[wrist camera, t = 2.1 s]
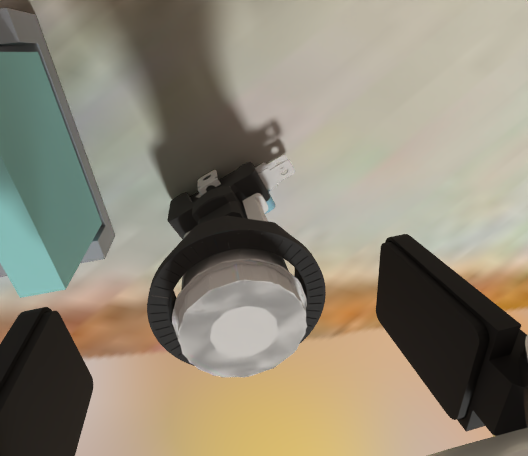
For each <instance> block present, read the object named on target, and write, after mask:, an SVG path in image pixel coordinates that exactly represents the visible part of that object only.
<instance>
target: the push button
mask: <svg viewBox="0 0 528 456" xmlns="http://www.w3.org/2000/svg"><path fill="white" fill-rule="evenodd" d="M280 161H281V162H282V163H280V164H279V165H277V166H276V164H277V162H280ZM287 169H288V171H287V173H286V174H281V173H282V172H284V171H285V170H287ZM294 173H295V169H294V167H293V165H292V163H291V161H290V160H288V159H287V157H286V155H284V154H283V155H281V156H280V157H278V158H276V159H274V160H273V161H271V162H269V163H268V164H266V163H265V162H264V163H262V164H260V165H259V166H257V167H254V165H253V164H252V163H251V162H248V163H246V164H244V165H242V166H241V167H239V168H238V169H237V170H236V171H234V172H232V173H230V174H229V175H227V176H225V177H224V178H222V179H220V180H218V176H217V171H216V170H213V171H211V172H209V173H208V174H206V175H204V176H203V177H201V178H200V179H199V180H198V191H199V192H198V193H196V194H195V195H193V196H191V197H190V196H189V195H188V194H187V193H183V194H181V195H179V196H177V197H176V198H174V199H173V200H172V201H171V203H170V209H169V214H168V222H169V223H170V224H171V226H172V227H173V228H174V229H175V231H176V232H177V233H178V234H179V236H180V237H181V238H182V239H183V240H182V241H181V242H180V243H179V244H178V245H177V247H176V248H175V249H174V250H173V251H172V252H171V253H170V254H169V255H168V256H167V258H166V259H165V260H164V261H163V263H162V264H161V265H160V267H159V268H158V270H157V272H156V273H155V276H154V278H153V280H152V283H151V287H150V291H149V296H148V303H147V313H148V320H149V323H150V327H151V329H152V331H153V334H154V335H155V337H156V338H157V340H158V341H159V343H160V344H161V345H162V346H163V347H164V348H165V349H166V350H167V351H168V352H169V353H171V354H172V355H174V356H175V357H176V358H178V359H180V360H182V361H184V362H186V363H188V364H191V365H193V366H196V367H197V368H198V369H199V370H202V371H205V372H208V373H210V374H212V375H214V376H220V377H249V376H252V375H255V374H258V373H260V372H263V371H266V370H269V369H272V368H274V367H276V366H277V365H278V364H280V363H281V362H282V361H284V360H285V359H286V358H288V357H289V356H290V355H292V354H293V353H294V352H295V351H296V350H297V348H298V345H299V344H300V343H301V342H302V341H303V340H304V339H305V338H306V337H307V336H308V335H309V334H310V332H311V331H312V330H313V328H314V327H315V325H316V324H317V322H318V320H319V318H320V316H321V313H322V310H323V307H324V303H325V283H324V278H323V275H322V272H321V270H320V268H319V266H318V264H317V262H316V260H315V259H314V257H313V256H312V254H311V253H310V252H309V251H308V249H307V248H306V247H305V246H304V245H303V244H302V243H300V242H299V241H298V240H296V239H295V238H294V237H292V236H291V235H290V234H288V233H287V232H286V231H285V230H283V229H282V228H281V227H280V226H278V225H277V224H276V223H273V222H268V221H267V218H266V216H265V214H266V213H268V212H270V211H271V210H272V209H274V207H275V203H274V201H273V199H272V197H271V196H270V194H269V191H270V190H272V189H274V188H276V187H277V186H278V184H277V183H279V182H280V181H282V180H284V179H286V178H287V177H289V176H291V175H293V174H294ZM209 176H210V177H209ZM207 177H209V178H208V179H206V178H207ZM205 179H206V180H205ZM283 258H284V259H285V260H287V261H288V262H290V263H291V264H292V265H293V266H294V267H295V276H293V275H292V274H291V273H290V272H289V271H288V268H287V266H286V264H285V261H284V259H283ZM182 276H183V277H182ZM181 277H182V290H181V292H180V293H179V295H178V296H177V298H176V296H175V293H174V291H173V290H174V287H175V286H176V284H177V283H178V281H179V280H180V278H181Z"/></svg>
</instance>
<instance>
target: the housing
mask: <svg viewBox="0 0 528 456" xmlns="http://www.w3.org/2000/svg"><path fill="white" fill-rule="evenodd" d="M0 52H38V53H39V56H40V59H41V61H42V64H43V67H44V69H45V72H46V75H47V77H48V80H49V83H50V85H51V88H52V91H53V93H54V96H55V99H56V101H57V104H58V107H59V110H60V112H61V115H62V118H63V120H64V123H65V126H66V128H67V131H68V134H69V136H70V139H71V142H72V144H73V147H74V150H75V152H76V155H77V158H78V160H79V163H80V166H81V168H82V171H83V174H84V176H85V179H86V182H87V184H88V187H89V190H90V192H91V195H92V198H93V200H94V203H95V206H96V208H97V211H98V214H99V216H100V219H101V222H102V224H101V226H100V228H99V230H98V232H97V233H96V235H95V237H94V239H93V241H92V243H91V244H90V246H89V248H88V250H87V252H86V253H85V255H84V257H83V259H82V261H81V262H80V263H84V262H90V261H95V260H101V259H105V257H106V255H107V253H108V251H109V248H110V246H111V244H112V242H113V239H114V237H115V234H114V231H113V228H112V225H111V223H110V220H109V217H108V214H107V212H106V209H105V206H104V203H103V200H102V198H101V195H100V192H99V189H98V187H97V184H96V181H95V178H94V175H93V173H92V170H91V167H90V164H89V162H88V159H87V156H86V153H85V150H84V148H83V145H82V142H81V139H80V137H79V134H78V131H77V128H76V125H75V123H74V120H73V117H72V114H71V112H70V109H69V106H68V103H67V100H66V98H65V95H64V92H63V89H62V86H61V84H60V81H59V78H58V75H57V73H56V70H55V67H54V64H53V61H52V59H51V56H50V53H49V50H48V48H47V45H46V42H45V39H44V36H43V34H42V31H41V28H40V25H39V23H38V20H37V17H36V15H35V14H31V13H27V12H23V11H18V10H14V9H10V8H0ZM3 276H7V274H6V272H5V270H4V269H3V267H2V265H1V263H0V277H3Z"/></svg>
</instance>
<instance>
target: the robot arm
mask: <svg viewBox="0 0 528 456" xmlns="http://www.w3.org/2000/svg"><path fill="white" fill-rule="evenodd" d="M376 314H377V318H378V320H379V322H380V323H381V324H382V326H383V327H384V329H385V330H386V331H387V333H388V334H389V335H390V337H391V338H392V339H393V341H394V342H395V344H396V345H397V346H398V348H399V349H400V350H401V352H402V353H403V354H404V356H405V357H406V359H407V360H408V361H409V363H410V364H411V365H412V367H413V368H414V369H415V371H416V372H417V374H418V375H419V376H420V378H421V379H422V380H423V382H424V383H425V384H426V386H427V387H428V389H429V390H430V391H431V393H432V394H433V395H434V397H435V398H436V400H437V401H438V402H439V403H440V405H441V406H442V408H443V409H444V410H445V412H446V413H447V414H448V416H450V418H452V419H454V420H456V419H457V420H458V421H459V423H460V424H461V425H462V426H463V428H464V429H465V431H469V430H472V429H476V428H479V427H483V426H486V427H487V428H488V429H489V431H490V432H491V433H492V434H493V437H491V438H488V439H484V440H480V441H476V442H473V443H469V444H466V445H462V446H459V447H455V448H452V449H448V450H445V451H441V452H438V453H435V454H431V455H428V456H528V335H526V334H525V333H524V332H523V331H521V330H520V327H521V324H520V323H518V322H517V321H516V320H515V319H513V318H512V317H511V316H510V315H508V314H507V313H506V312H505V311H503V310H502V309H501V308H500V307H498V306H497V305H496V304H495V303H493V302H492V301H491V300H490V299H488V298H487V297H486V296H485V295H483V294H482V293H481V292H480V291H478V290H477V289H476V288H475V287H473V286H472V285H471V284H470V283H468V282H467V281H466V280H465V279H463V278H462V277H461V276H460V275H458V274H457V273H456V272H455V271H453V270H452V269H451V268H450V267H448V266H447V265H446V264H445V263H443V262H442V261H441V260H440V259H438V258H437V257H436V256H435V255H433V254H432V253H431V252H429V251H428V250H427V249H426V248H424V247H423V246H422V245H421V244H419V243H418V242H417V241H416V240H414V239H413V238H412V237H411V236H409V235H408V234H403V235H398V236H394V237H389V238H387V239H386V242H385V243H383V244H382V246H381V253H380V265H379V278H378V291H377V303H376ZM92 391H93V379H92V376H91V374H90V372H89V370H88V368H87V366H86V364H85V362H84V361H83V359H82V357H81V355H80V353H79V351H78V349H77V347H76V345H75V343H74V341H73V339H72V337H71V335H70V333H69V331H68V329H67V328H66V326H65V324H64V322H63V320H62V318H61V316H60V314H59V313H58V312H57V311H52V310H51V309H50V308H48V307H44V308H39V309H34V310H29V311H24V312H22V313H21V314H20V315H19V316H18V317H17V319H16V320H15V322H14V324H13V325H12V327H11V328H10V330H9V331H8V333H7V335H6V336H5V338H4V339H3V341H2V342H1V344H0V456H75V453H76V449H77V446H78V442H79V438H80V434H81V431H82V428H83V424H84V420H85V417H86V413H87V409H88V406H89V402H90V398H91V395H92Z"/></svg>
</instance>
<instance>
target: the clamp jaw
mask: <svg viewBox="0 0 528 456" xmlns="http://www.w3.org/2000/svg"><path fill="white" fill-rule="evenodd" d="M101 224H102V222H101V219H100V216H99V214H98V211H97V208H96V206H95V203H94V200H93V198H92V195H91V192H90V190H89V187H88V184H87V182H86V179H85V176H84V174H83V171H82V168H81V166H80V163H79V160H78V158H77V155H76V152H75V150H74V147H73V144H72V142H71V139H70V136H69V134H68V131H67V128H66V126H65V123H64V120H63V118H62V115H61V112H60V110H59V107H58V104H57V101H56V99H55V96H54V93H53V91H52V88H51V85H50V83H49V80H48V77H47V75H46V72H45V69H44V67H43V64H42V61H41V59H40V56H39V53H38V52H0V263H1V265H2V267H3V269H4V270H5V272H6V274H7V276H8V277H9V279H10V281H11V283H12V284H13V286H14V288H15V289H16V291H17V293H18V295H19V296H20V298H21V297H27V296H32V295H38V294H43V293H49V292H54V291H60V290H65V289H66V288H67V286H68V284H69V282H70V281H71V279H72V277H73V275H74V273H75V272H76V270H77V268H78V266H79V264H80V262H81V261H82V259H83V257H84V255H85V253H86V252H87V250H88V248H89V246H90V244H91V243H92V241H93V239H94V237H95V235H96V233H97V232H98V230H99V228H100V226H101Z"/></svg>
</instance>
